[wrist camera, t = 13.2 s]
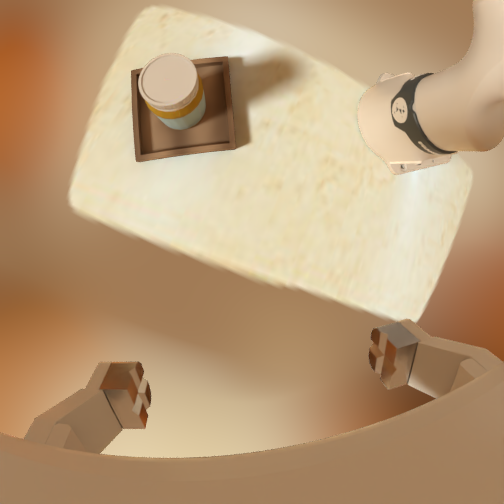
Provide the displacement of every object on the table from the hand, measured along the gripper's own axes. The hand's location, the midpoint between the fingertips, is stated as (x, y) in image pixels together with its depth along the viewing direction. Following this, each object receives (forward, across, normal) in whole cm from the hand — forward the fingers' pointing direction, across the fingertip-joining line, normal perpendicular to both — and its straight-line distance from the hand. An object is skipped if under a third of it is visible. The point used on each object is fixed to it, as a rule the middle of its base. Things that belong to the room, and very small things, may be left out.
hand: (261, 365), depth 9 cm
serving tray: (+37, +5, -17) cm, 41 cm away
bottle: (+36, +5, -17) cm, 41 cm away
